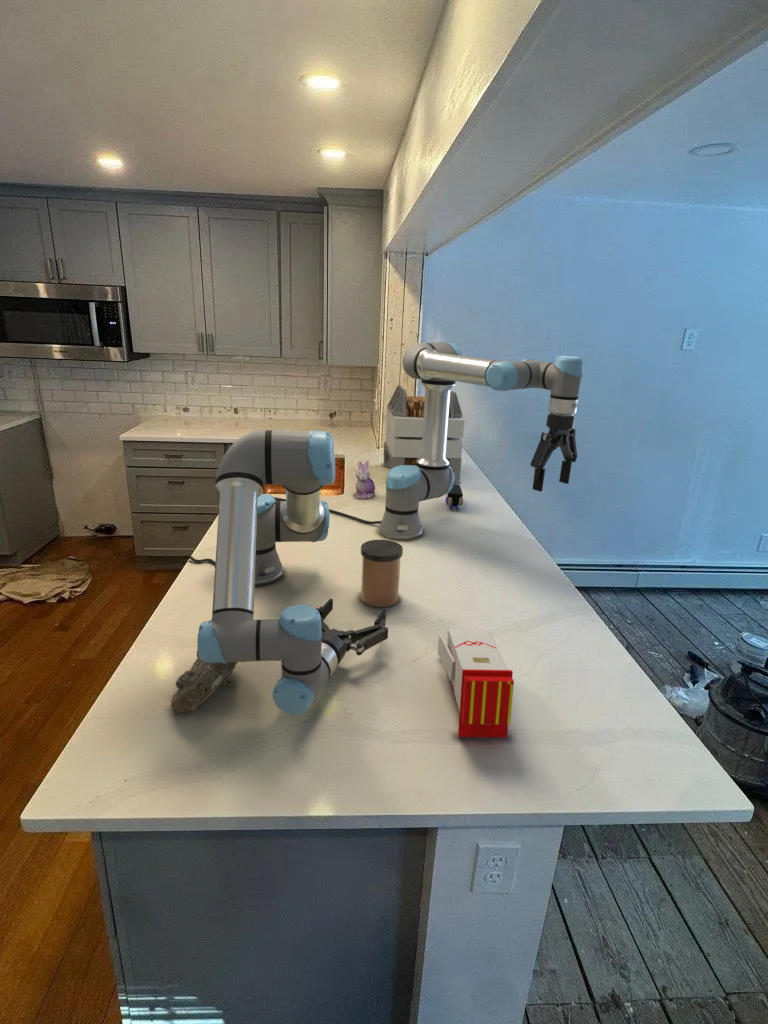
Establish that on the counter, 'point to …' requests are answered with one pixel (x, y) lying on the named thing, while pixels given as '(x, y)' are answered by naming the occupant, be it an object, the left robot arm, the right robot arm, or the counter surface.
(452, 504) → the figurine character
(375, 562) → the jar
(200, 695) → the fossil
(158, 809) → the counter surface
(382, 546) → the lid
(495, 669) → the toy
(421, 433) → the white crate
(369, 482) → the figurine
